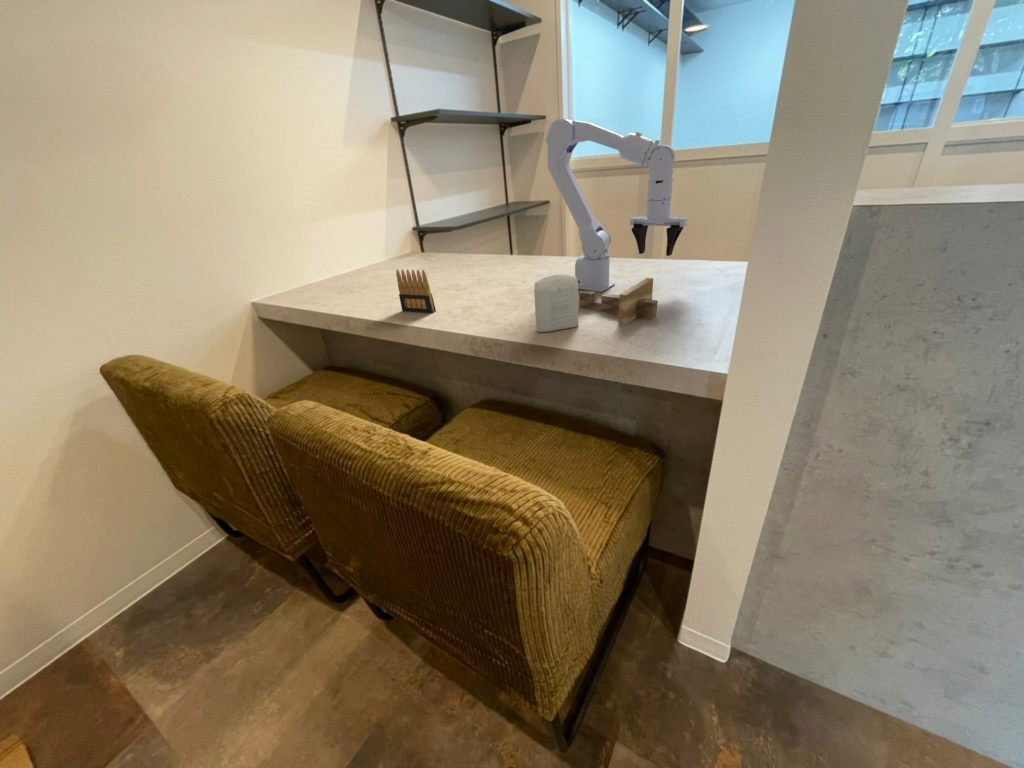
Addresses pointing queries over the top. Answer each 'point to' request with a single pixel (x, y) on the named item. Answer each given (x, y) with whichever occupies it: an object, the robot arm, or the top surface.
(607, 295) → the slotted beam
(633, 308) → the crossbar
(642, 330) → the top surface
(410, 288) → the ammunition clip
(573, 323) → the miniature gravestone
